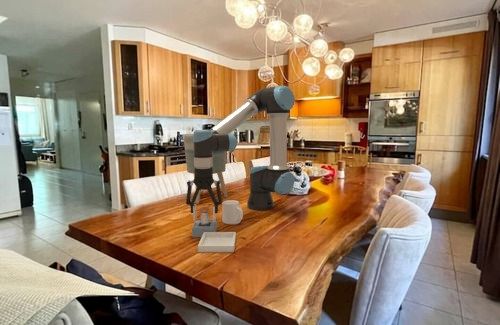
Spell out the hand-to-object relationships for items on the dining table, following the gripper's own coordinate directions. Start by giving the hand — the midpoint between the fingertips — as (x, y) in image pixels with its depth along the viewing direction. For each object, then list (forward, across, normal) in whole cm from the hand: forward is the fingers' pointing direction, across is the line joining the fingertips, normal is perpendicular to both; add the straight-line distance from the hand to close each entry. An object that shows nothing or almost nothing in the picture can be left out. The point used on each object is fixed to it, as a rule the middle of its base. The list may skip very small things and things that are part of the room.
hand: (204, 220), depth 117 cm
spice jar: (+6, 0, 0) cm, 6 cm away
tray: (+6, -7, +12) cm, 15 cm away
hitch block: (+6, 0, 0) cm, 6 cm away
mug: (+6, -11, -14) cm, 19 cm away
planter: (+6, +8, -56) cm, 57 cm away
